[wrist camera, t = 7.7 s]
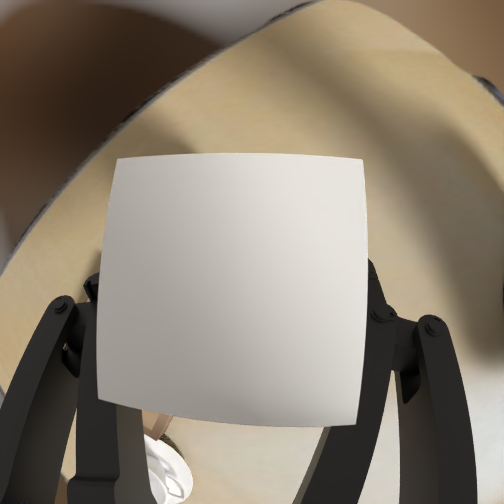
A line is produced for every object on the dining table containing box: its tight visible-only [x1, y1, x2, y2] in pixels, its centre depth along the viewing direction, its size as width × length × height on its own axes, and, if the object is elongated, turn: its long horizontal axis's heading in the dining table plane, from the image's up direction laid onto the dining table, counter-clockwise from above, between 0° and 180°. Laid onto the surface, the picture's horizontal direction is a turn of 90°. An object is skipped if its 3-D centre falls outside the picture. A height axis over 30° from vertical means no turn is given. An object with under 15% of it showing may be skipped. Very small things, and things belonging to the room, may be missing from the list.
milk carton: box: [97, 153, 368, 427], centre depth 13 cm, size 7×7×12 cm
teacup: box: [144, 434, 193, 504], centre depth 26 cm, size 12×12×5 cm
